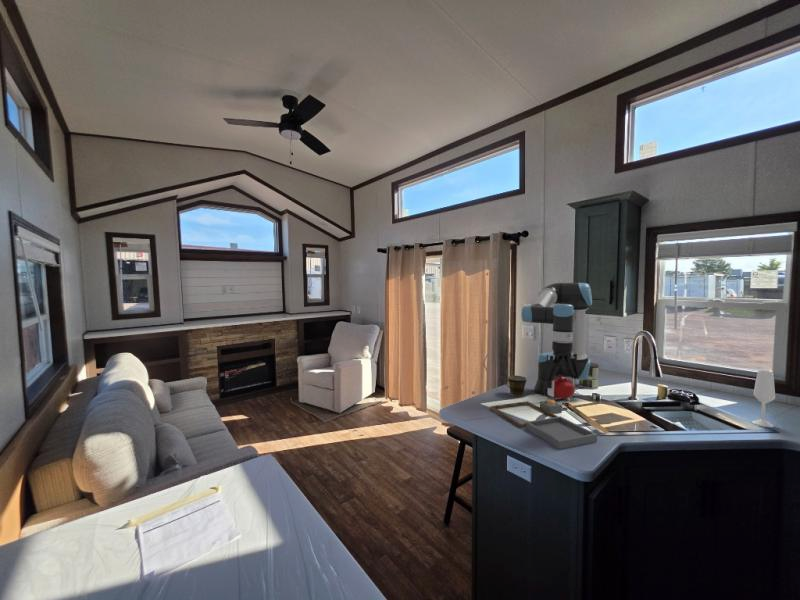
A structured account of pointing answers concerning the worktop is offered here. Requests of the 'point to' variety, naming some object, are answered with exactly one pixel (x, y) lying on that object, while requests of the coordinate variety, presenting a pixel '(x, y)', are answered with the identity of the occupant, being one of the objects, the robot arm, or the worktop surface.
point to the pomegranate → (563, 387)
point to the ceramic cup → (516, 385)
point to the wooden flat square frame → (523, 425)
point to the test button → (550, 402)
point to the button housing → (551, 407)
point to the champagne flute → (764, 393)
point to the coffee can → (591, 378)
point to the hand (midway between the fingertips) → (560, 394)
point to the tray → (561, 432)
